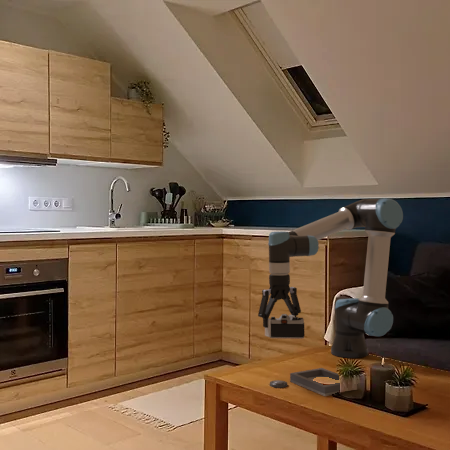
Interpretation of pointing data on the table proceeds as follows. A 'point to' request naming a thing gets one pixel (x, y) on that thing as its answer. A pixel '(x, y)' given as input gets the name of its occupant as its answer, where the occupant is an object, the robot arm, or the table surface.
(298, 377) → the case tray
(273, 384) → the lens cap
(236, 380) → the table surface
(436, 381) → the table surface
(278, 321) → the camera
